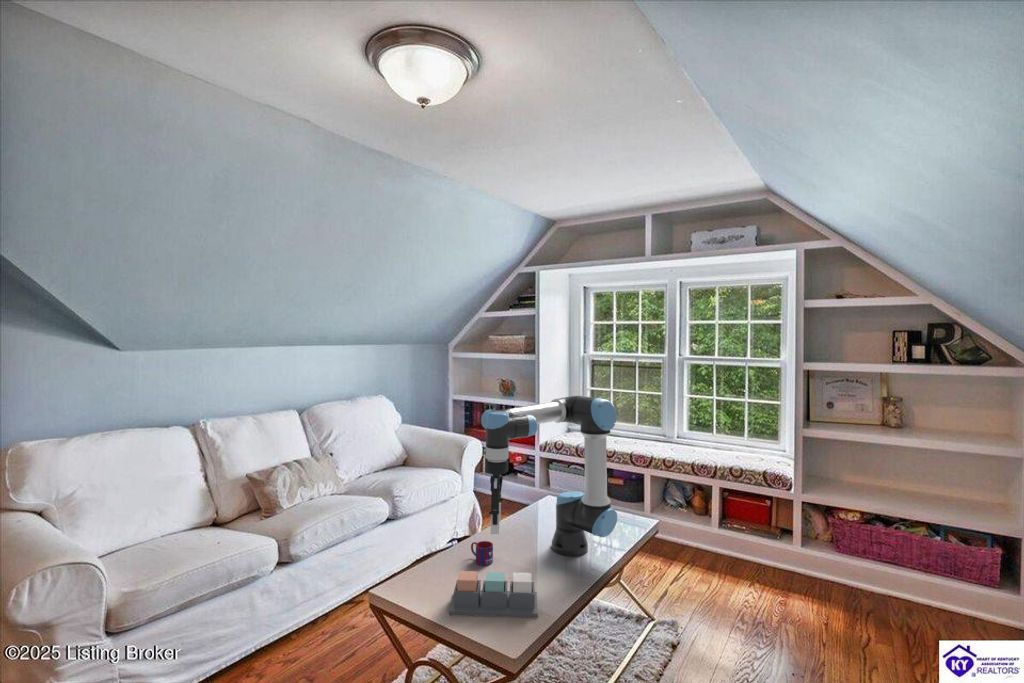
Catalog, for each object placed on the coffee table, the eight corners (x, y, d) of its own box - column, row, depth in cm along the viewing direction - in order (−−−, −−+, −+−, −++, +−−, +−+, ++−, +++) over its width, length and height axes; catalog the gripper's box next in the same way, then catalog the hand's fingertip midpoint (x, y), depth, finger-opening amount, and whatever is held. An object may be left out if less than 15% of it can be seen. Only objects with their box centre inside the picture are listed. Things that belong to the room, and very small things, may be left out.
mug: (483, 567, 183) (484, 549, 183) (466, 559, 190) (466, 541, 190) (496, 561, 188) (496, 544, 188) (479, 553, 195) (479, 537, 195)
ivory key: (531, 588, 161) (531, 572, 161) (531, 598, 155) (531, 582, 155) (513, 587, 161) (513, 572, 161) (512, 597, 155) (513, 581, 155)
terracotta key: (477, 586, 161) (477, 571, 161) (475, 596, 155) (476, 580, 155) (459, 586, 161) (459, 571, 161) (457, 596, 155) (457, 580, 155)
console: (536, 595, 164) (536, 577, 164) (537, 617, 151) (538, 598, 151) (454, 593, 165) (455, 575, 165) (449, 615, 152) (449, 596, 152)
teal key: (504, 587, 161) (504, 572, 161) (503, 597, 155) (503, 581, 155) (486, 587, 161) (486, 571, 161) (485, 596, 155) (485, 580, 155)
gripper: (487, 451, 169) (486, 514, 169) (482, 468, 147) (481, 541, 147) (509, 451, 168) (508, 515, 169) (507, 469, 146) (506, 542, 147)
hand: (495, 527), depth 158 cm, fingers open, 9 cm apart
